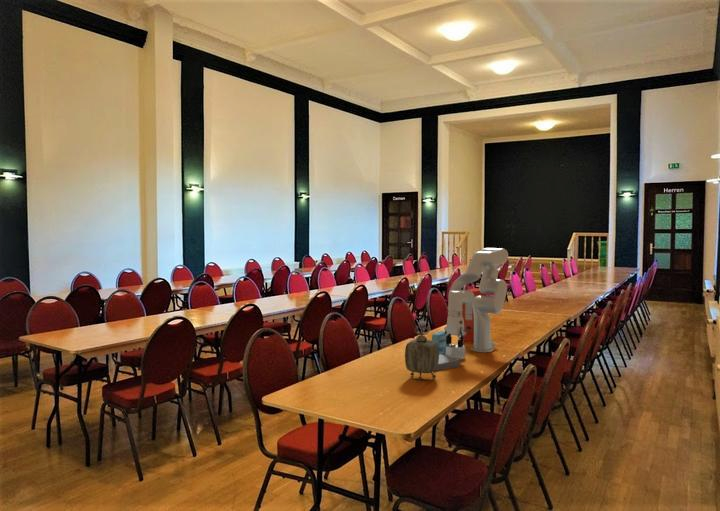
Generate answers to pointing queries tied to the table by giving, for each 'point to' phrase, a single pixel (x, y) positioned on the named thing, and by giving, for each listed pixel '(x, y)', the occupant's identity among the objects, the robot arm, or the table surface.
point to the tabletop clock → (421, 355)
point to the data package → (440, 341)
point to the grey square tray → (447, 362)
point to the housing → (455, 351)
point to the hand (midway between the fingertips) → (454, 345)
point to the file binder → (470, 317)
